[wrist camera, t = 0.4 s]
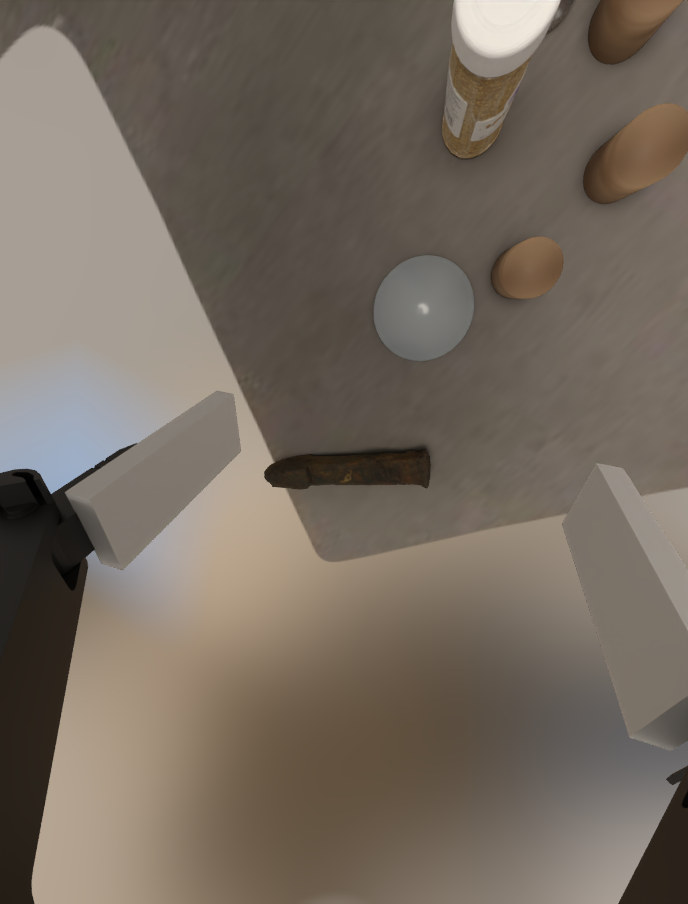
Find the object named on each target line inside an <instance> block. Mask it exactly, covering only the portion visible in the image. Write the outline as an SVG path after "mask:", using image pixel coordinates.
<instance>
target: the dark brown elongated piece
mask: <svg viewBox="0 0 688 904" xmlns="http://www.w3.org/2000/svg"><path fill="white" fill-rule="evenodd" d="M430 465H431V464H430V456H429V455H428V452H427V450H426V449H423V450H422V451H420V452H418V453H417V452H414V451H408V452H406V453H395V454H394V453H382V454H375V455H366V454H361V455H347V456H320V457H317V456H314V455H302V456H296V457H293V458H289V459H285V460H282V461H279V462H276V463H273V464H271V465H270V466H269V467H268V468H267V469H266V470H265V472H264V474H265V476H264V477H265V479H266V480H267V481H268V482H269V483H270V484H271V485H272V487H281V488H292V489H307V488H308V487H309V486H311V485H315V486H316V485H332V484H334V485H397V484H402V485H405V484H408V485H409V484H414V485H421V486H422V487H425V488H428V486H429V480H430Z"/></svg>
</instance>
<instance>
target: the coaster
mask: <svg viewBox="0 0 688 904" xmlns="http://www.w3.org/2000/svg"><path fill="white" fill-rule="evenodd" d="M473 313H474V295H473V290H472V287H471V284H470V282H469V280H468V278H467V276H466V275H465V273H464V272H463V271H462V270H461V269H460V268H459V267H458V266H457V265H456V264H455V263H453V262H451V261H450V260H448V259H445V258H443V257H439V256H434V255H422V256H417V257H413V258H410V259H408V260H406V261H404V262H402V263H400V264H399V265H398V266H396V267H395V268H394V269H393V270H392V271H391V272H390V273H389V274H388V275H387V276H386V277H385V279H384V280H383V282H382V283H381V285H380V287H379V289H378V292H377V295H376V298H375V302H374V323H375V327H376V330H377V333H378V335H379V337H380V339H381V340H382V342H383V343H384V344H385V346H386V347H387V348H388V349H389V350H390V351H392V352H393V353H394V354H396V355H398V356H400V357H402V358H404V359H408V360H412V361H427V360H432V359H435V358H438V357H440V356H443V355H444V354H446V353H448V352H449V351H451V350H452V349H453V348H454V347H455V346H456V345H457V344H458V343H459V342H460V341H461V340H462V339H463V337H464V336H465V334H466V333H467V331H468V329H469V327H470V324H471V321H472V317H473Z"/></svg>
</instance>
